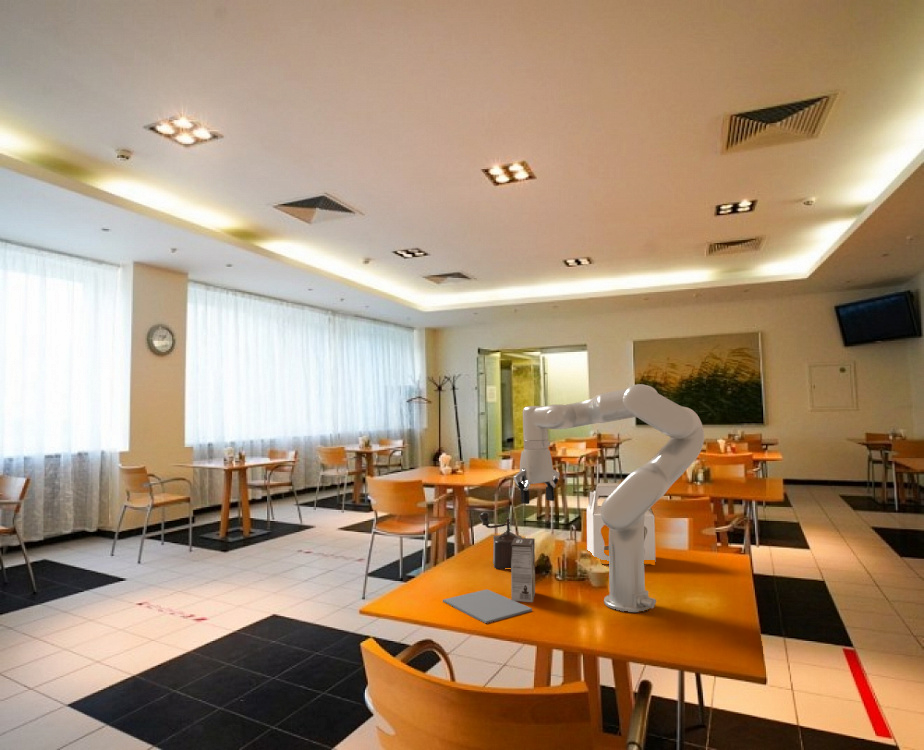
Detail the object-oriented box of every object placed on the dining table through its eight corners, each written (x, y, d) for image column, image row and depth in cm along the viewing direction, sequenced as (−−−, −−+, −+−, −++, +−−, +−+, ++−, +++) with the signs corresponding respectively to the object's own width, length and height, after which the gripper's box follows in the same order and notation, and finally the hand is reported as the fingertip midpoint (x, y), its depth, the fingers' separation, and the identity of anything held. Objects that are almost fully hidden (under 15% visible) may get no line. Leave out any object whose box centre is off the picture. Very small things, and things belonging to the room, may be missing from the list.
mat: (532, 610, 149) (532, 608, 149) (485, 623, 140) (485, 621, 140) (487, 591, 165) (487, 589, 165) (442, 601, 156) (442, 599, 156)
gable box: (593, 564, 195) (591, 485, 197) (586, 555, 208) (585, 480, 210) (656, 565, 194) (654, 485, 196) (645, 555, 207) (644, 481, 209)
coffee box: (514, 591, 166) (513, 537, 167) (535, 592, 164) (535, 538, 165) (511, 601, 157) (510, 544, 158) (533, 602, 155) (533, 545, 156)
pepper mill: (521, 560, 200) (520, 510, 201) (525, 569, 189) (524, 516, 190) (478, 560, 200) (478, 510, 201) (480, 569, 188) (480, 516, 190)
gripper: (549, 444, 177) (551, 498, 176) (506, 446, 168) (508, 503, 167) (565, 445, 171) (567, 500, 169) (521, 447, 162) (523, 506, 161)
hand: (538, 501), depth 168 cm, fingers open, 9 cm apart
